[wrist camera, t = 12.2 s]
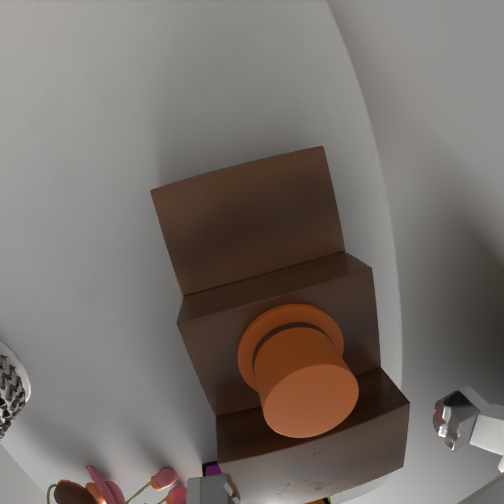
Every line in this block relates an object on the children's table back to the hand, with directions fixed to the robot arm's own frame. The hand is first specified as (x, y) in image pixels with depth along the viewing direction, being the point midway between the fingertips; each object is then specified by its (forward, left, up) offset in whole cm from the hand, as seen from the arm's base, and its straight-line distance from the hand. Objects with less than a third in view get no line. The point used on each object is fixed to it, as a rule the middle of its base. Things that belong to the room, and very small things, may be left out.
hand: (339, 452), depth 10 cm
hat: (0, 0, -8) cm, 8 cm away
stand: (0, 0, -15) cm, 15 cm away
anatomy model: (+27, -7, -15) cm, 32 cm away
